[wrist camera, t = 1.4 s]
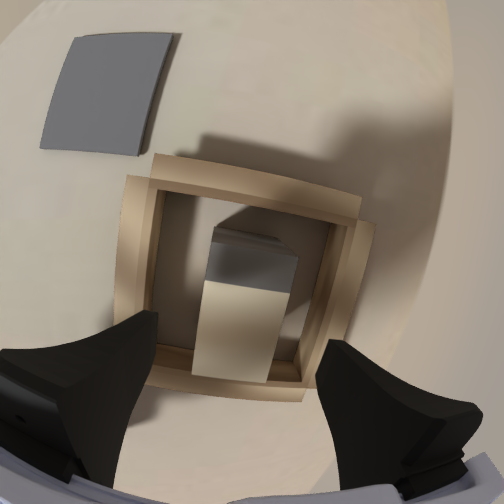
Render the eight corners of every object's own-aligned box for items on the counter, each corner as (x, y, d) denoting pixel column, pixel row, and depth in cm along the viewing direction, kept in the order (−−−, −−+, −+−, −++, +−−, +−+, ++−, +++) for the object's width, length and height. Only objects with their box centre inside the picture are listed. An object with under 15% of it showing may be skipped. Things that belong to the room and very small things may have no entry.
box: (254, 336, 22) (265, 382, 16) (197, 328, 21) (191, 374, 15) (276, 237, 20) (298, 257, 15) (214, 226, 20) (211, 241, 14)
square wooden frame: (308, 381, 23) (318, 402, 21) (125, 357, 21) (115, 377, 18) (360, 200, 20) (380, 202, 18) (144, 155, 18) (131, 150, 15)
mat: (139, 156, 18) (136, 155, 18) (42, 148, 17) (39, 148, 16) (173, 36, 16) (172, 33, 16) (76, 39, 15) (74, 37, 14)
